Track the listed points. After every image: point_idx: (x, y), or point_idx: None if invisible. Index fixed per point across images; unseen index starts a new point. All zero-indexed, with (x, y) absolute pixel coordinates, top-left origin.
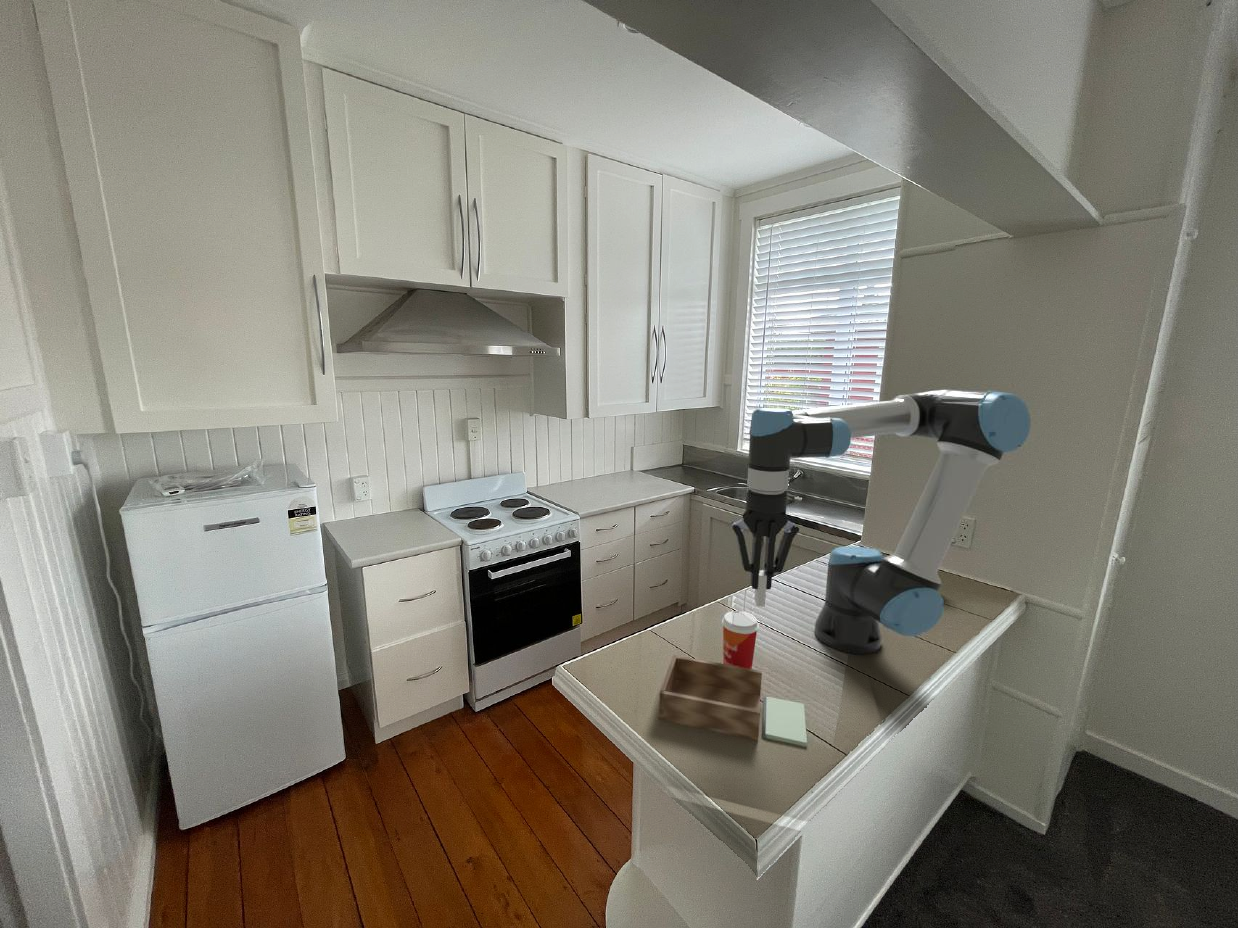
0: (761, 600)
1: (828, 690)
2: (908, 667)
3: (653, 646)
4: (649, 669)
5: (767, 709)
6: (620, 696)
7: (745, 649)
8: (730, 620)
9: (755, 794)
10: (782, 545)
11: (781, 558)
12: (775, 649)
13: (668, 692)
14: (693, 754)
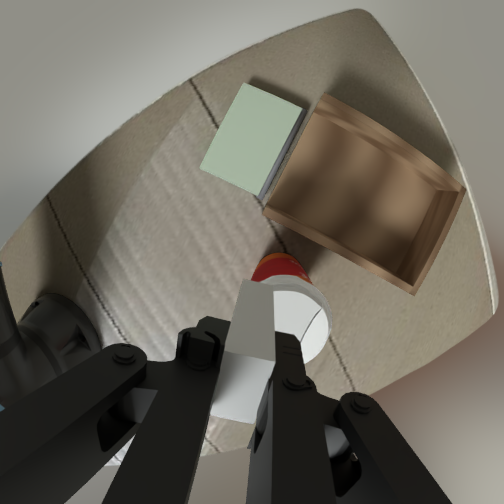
0: (256, 291)
1: (136, 217)
2: (24, 253)
3: (378, 371)
4: (410, 315)
5: (272, 162)
6: (464, 256)
7: (281, 268)
8: (317, 325)
9: (348, 43)
10: (18, 497)
11: (70, 408)
12: (174, 338)
13: (455, 185)
14: (408, 118)
